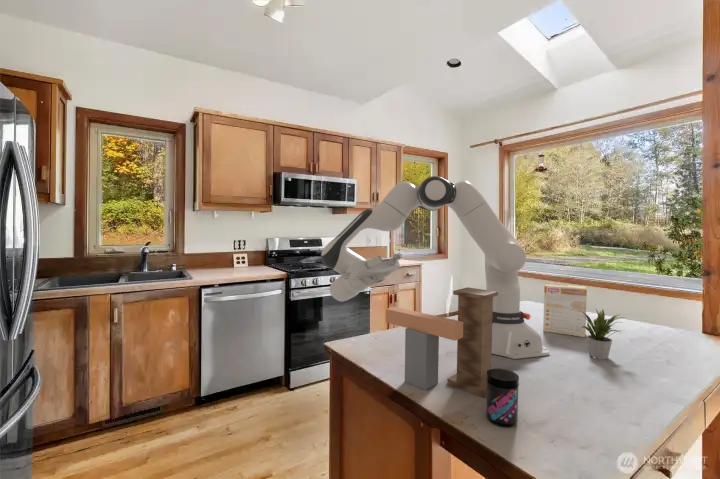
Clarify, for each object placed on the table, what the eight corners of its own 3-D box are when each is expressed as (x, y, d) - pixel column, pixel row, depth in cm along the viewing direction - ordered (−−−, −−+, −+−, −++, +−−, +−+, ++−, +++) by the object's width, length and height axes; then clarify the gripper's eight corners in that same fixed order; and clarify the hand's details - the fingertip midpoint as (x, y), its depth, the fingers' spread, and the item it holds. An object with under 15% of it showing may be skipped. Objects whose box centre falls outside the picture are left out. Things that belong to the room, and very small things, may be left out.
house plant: (637, 368, 110) (640, 316, 109) (588, 364, 112) (590, 313, 112) (614, 352, 124) (616, 305, 123) (571, 349, 126) (572, 303, 126)
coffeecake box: (585, 333, 145) (586, 286, 144) (585, 337, 139) (587, 288, 138) (544, 327, 153) (545, 282, 153) (542, 331, 147) (544, 285, 147)
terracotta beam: (385, 322, 105) (385, 308, 104) (394, 319, 107) (394, 306, 107) (454, 340, 88) (455, 324, 88) (463, 337, 91) (463, 321, 91)
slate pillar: (404, 381, 99) (405, 328, 98) (417, 375, 103) (418, 324, 102) (425, 390, 94) (426, 334, 93) (438, 383, 98) (438, 329, 97)
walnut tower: (447, 383, 98) (448, 290, 97) (463, 374, 104) (465, 286, 103) (485, 397, 90) (487, 296, 89) (500, 386, 96) (502, 292, 95)
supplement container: (479, 418, 80) (480, 373, 80) (494, 408, 84) (495, 366, 84) (509, 432, 75) (510, 384, 74) (523, 420, 79) (524, 375, 79)
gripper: (336, 270, 113) (362, 250, 105) (379, 264, 128) (405, 246, 119) (343, 288, 111) (370, 269, 103) (385, 280, 126) (412, 263, 117)
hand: (389, 256), depth 111 cm, fingers open, 8 cm apart
